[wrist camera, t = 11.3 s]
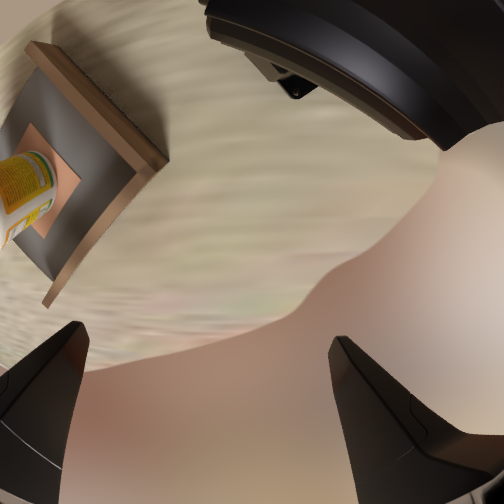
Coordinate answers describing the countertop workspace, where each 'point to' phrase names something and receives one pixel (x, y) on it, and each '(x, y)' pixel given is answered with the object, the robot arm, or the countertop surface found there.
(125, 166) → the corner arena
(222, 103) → the countertop surface
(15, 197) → the supplement bottle
